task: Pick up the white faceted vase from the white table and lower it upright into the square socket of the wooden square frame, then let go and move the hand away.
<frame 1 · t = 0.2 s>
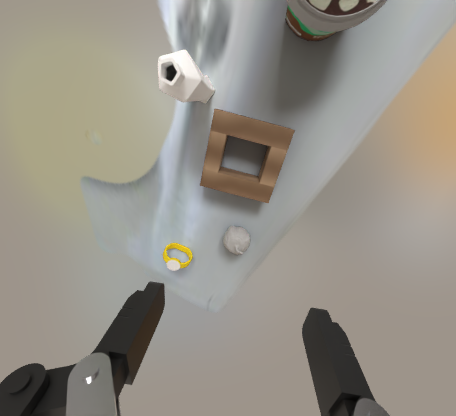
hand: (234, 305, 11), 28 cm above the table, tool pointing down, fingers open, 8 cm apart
watch: (182, 247, 46), on the table
garlic: (237, 233, 43), on the table
food container: (327, 20, 27), on the table
white faceted vase: (202, 90, 32), on the table
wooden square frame: (244, 155, 36), on the table
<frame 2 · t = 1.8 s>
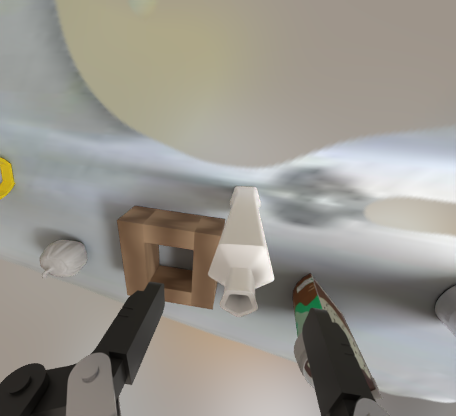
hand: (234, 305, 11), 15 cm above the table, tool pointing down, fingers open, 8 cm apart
watch: (10, 172, 27), on the table
garlic: (78, 248, 31), on the table
food container: (307, 300, 31), on the table
white faceted vase: (243, 199, 25), on the table
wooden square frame: (179, 249, 29), on the table
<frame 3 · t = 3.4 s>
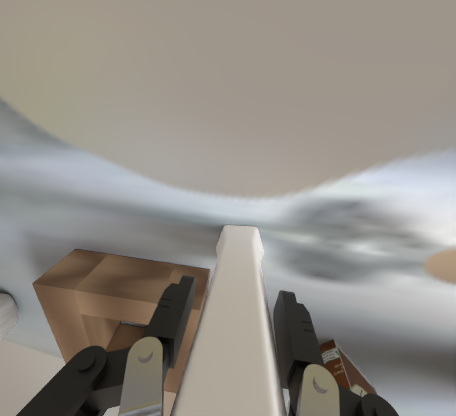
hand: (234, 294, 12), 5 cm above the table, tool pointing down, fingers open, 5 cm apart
garlic: (7, 299, 22), on the table
food container: (326, 369, 23), on the table
white faceted vase: (237, 243, 16), on the table, touching gripper
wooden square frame: (146, 306, 20), on the table
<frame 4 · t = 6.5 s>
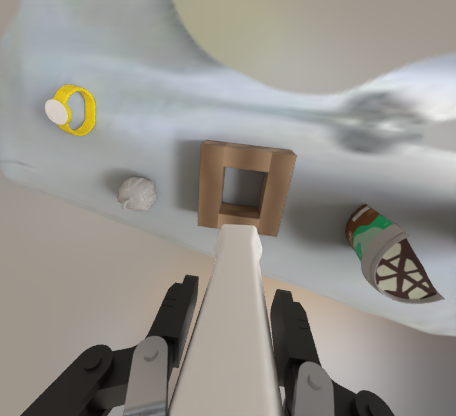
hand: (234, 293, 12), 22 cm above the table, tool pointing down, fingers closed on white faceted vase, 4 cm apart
watch: (92, 111, 29), on the table
garlic: (145, 189, 34), on the table
food container: (358, 234, 33), on the table
white faceted vase: (236, 242, 16), point 17 cm above the table, touching gripper
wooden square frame: (243, 184, 32), on the table
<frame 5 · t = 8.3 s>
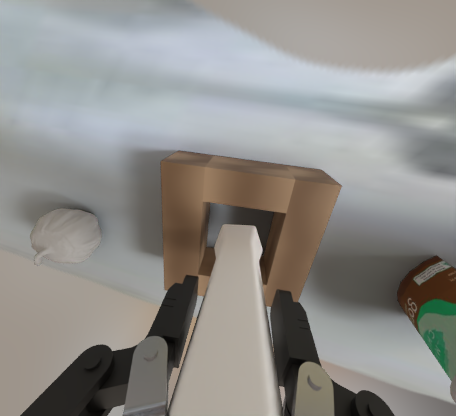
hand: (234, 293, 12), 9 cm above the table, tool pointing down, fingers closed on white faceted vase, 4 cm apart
garlic: (87, 223, 22), on the table
food container: (417, 296, 22), on the table
white faceted vase: (236, 242, 16), point 4 cm above the table, touching gripper
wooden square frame: (239, 222, 20), on the table
when the fingers open (6 cm above the table, at t = 9.5 s): white faceted vase drops 1 cm, resting in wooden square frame.
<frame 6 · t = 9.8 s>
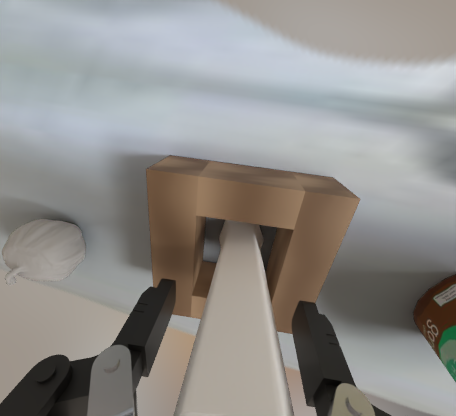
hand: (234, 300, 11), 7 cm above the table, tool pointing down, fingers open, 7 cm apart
garlic: (70, 234, 20), on the table
food container: (435, 315, 20), on the table
white faceted vase: (239, 233, 18), resting in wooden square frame
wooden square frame: (239, 234, 18), on the table
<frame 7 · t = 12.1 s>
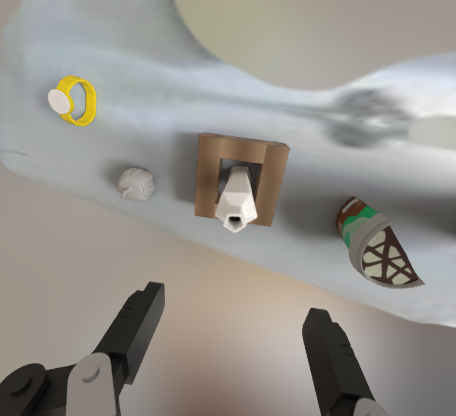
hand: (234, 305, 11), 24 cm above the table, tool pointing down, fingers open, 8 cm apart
watch: (92, 103, 30), on the table
garlic: (143, 180, 35), on the table
food container: (348, 225, 35), on the table
white faceted vase: (238, 176, 33), resting in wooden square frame
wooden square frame: (238, 176, 33), on the table
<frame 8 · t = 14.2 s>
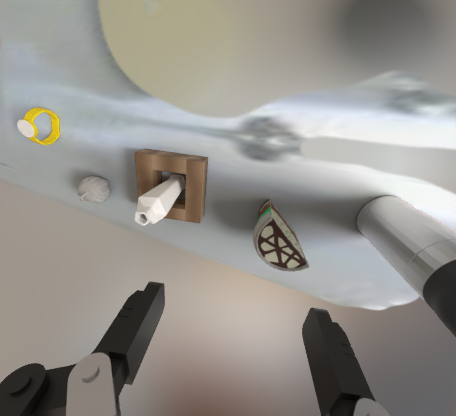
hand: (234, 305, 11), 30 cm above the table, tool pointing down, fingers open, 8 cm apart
watch: (57, 125, 38), on the table
garlic: (102, 185, 43), on the table
food container: (269, 223, 43), on the table
white faceted vase: (176, 183, 41), resting in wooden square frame
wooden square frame: (176, 183, 41), on the table
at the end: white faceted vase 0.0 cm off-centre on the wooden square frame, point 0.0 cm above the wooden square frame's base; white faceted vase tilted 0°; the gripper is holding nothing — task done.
